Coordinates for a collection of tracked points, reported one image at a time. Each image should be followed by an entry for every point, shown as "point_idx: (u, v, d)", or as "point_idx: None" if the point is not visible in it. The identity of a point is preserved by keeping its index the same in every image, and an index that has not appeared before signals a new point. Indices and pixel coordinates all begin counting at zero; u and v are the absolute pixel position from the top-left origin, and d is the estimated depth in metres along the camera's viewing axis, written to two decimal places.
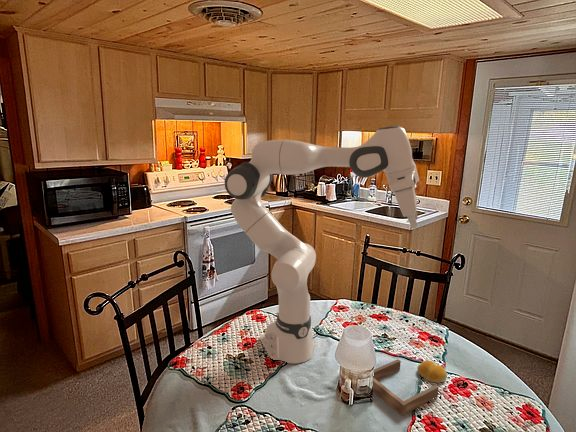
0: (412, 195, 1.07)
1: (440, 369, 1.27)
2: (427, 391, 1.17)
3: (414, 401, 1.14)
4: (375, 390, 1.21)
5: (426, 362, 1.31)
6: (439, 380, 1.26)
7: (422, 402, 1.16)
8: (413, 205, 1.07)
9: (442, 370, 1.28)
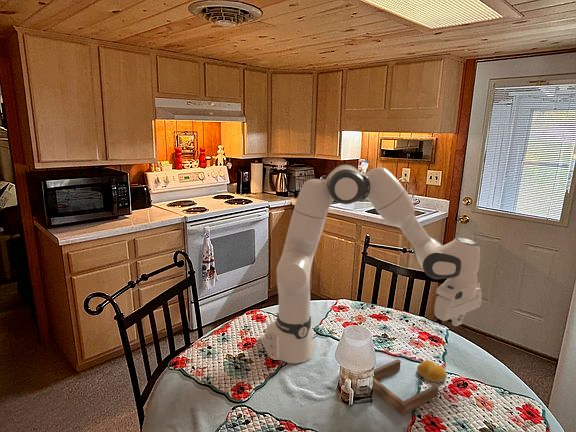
0: (446, 306, 1.23)
1: (440, 369, 1.27)
2: (427, 391, 1.17)
3: (414, 401, 1.14)
4: (375, 390, 1.21)
5: (426, 362, 1.31)
6: (439, 380, 1.26)
7: (422, 402, 1.16)
8: (443, 314, 1.23)
9: (442, 370, 1.28)
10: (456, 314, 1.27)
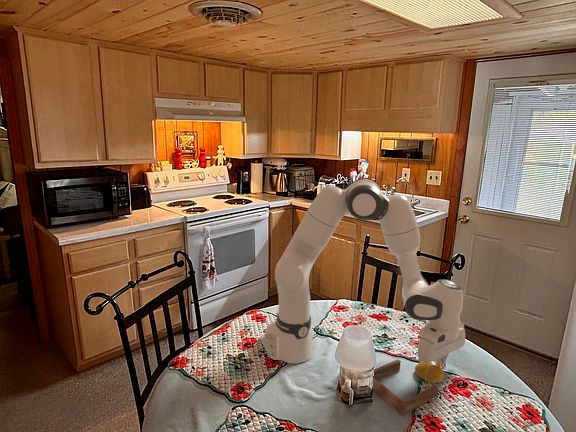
0: (429, 349, 1.23)
1: (437, 370, 1.27)
2: (427, 391, 1.17)
3: (414, 401, 1.14)
4: (375, 390, 1.21)
5: (423, 362, 1.30)
6: (436, 380, 1.25)
7: (422, 402, 1.16)
8: (426, 357, 1.24)
9: (439, 370, 1.27)
10: (439, 356, 1.27)
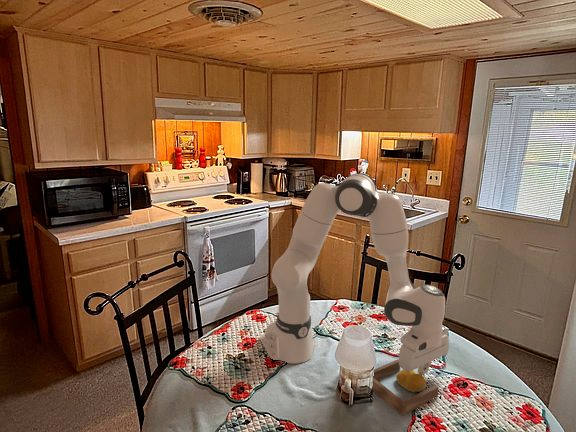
0: (410, 358, 1.19)
1: (419, 378, 1.22)
2: (427, 391, 1.17)
3: (414, 401, 1.14)
4: (375, 390, 1.21)
5: None
6: (417, 389, 1.21)
7: (422, 402, 1.16)
8: (407, 365, 1.19)
9: (421, 379, 1.23)
10: (421, 364, 1.23)
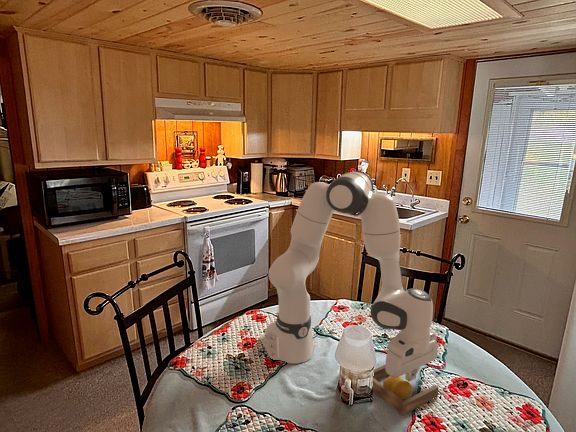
0: (396, 364, 1.16)
1: (405, 386, 1.19)
2: (427, 391, 1.17)
3: (414, 401, 1.14)
4: (375, 390, 1.21)
5: (392, 377, 1.23)
6: (403, 397, 1.18)
7: (422, 402, 1.16)
8: (393, 371, 1.16)
9: (407, 387, 1.19)
10: (408, 370, 1.20)
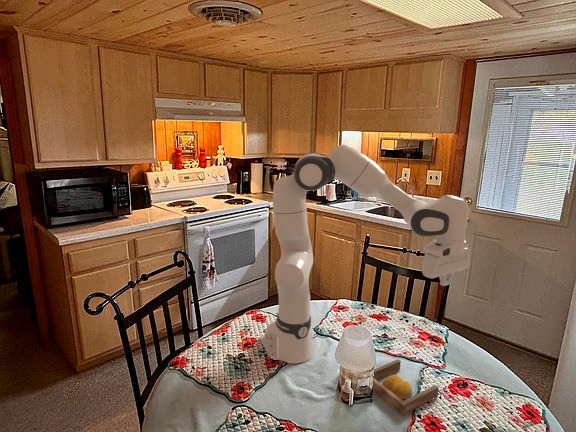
0: (434, 263, 1.21)
1: (404, 386, 1.19)
2: (427, 391, 1.17)
3: (414, 401, 1.14)
4: (375, 390, 1.21)
5: (391, 377, 1.23)
6: (402, 397, 1.18)
7: (422, 402, 1.16)
8: (431, 271, 1.22)
9: (407, 386, 1.19)
10: (444, 272, 1.25)
